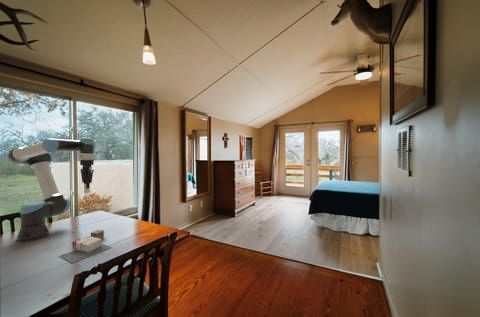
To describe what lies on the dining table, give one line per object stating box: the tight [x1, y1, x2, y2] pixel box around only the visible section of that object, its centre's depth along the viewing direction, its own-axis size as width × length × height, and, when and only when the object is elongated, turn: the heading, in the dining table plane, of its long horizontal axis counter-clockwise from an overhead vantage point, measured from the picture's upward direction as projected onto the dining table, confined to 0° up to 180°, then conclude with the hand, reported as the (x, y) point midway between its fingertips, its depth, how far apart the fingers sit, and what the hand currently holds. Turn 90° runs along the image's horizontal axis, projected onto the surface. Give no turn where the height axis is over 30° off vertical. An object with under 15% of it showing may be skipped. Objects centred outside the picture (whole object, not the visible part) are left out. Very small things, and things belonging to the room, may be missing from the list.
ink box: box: [71, 235, 102, 253], centre depth 119 cm, size 9×5×12 cm
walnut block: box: [90, 229, 105, 240], centre depth 133 cm, size 5×5×5 cm
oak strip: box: [61, 249, 77, 256], centre depth 118 cm, size 1×18×1 cm, turn 153°
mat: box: [58, 242, 112, 264], centre depth 115 cm, size 14×20×1 cm
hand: (86, 192), depth 140 cm, fingers closed
